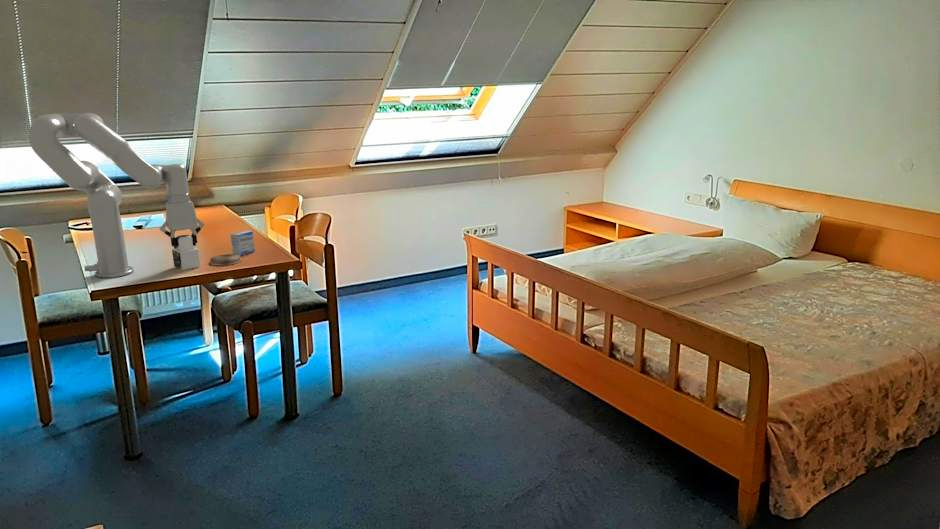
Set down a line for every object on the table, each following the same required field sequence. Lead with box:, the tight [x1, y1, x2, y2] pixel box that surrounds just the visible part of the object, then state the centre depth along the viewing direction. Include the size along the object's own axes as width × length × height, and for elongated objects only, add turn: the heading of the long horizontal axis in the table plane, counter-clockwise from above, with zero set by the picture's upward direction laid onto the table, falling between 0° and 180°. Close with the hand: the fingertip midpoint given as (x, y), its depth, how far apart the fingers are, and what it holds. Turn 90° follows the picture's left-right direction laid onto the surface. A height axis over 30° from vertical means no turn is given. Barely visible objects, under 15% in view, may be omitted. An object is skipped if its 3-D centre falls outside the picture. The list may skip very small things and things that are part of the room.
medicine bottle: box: [171, 234, 201, 271], centre depth 259 cm, size 7×7×12 cm
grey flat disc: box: [209, 253, 243, 267], centre depth 267 cm, size 12×12×2 cm
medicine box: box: [230, 230, 256, 257], centre depth 278 cm, size 8×4×9 cm, turn 151°
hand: (184, 246), depth 258 cm, fingers closed on medicine bottle, 6 cm apart
